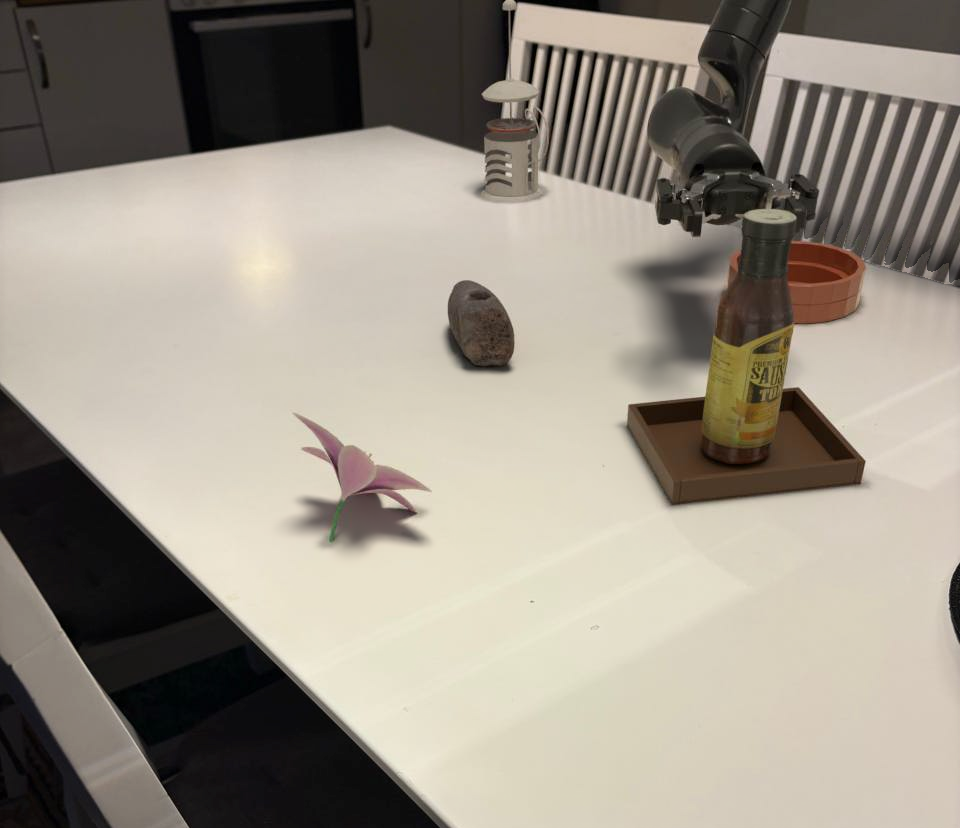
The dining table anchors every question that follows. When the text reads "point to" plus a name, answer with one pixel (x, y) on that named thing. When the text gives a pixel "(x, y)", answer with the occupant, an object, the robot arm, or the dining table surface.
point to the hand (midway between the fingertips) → (747, 224)
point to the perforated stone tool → (480, 324)
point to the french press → (512, 141)
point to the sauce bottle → (751, 344)
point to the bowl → (818, 281)
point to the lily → (358, 470)
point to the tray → (787, 467)
